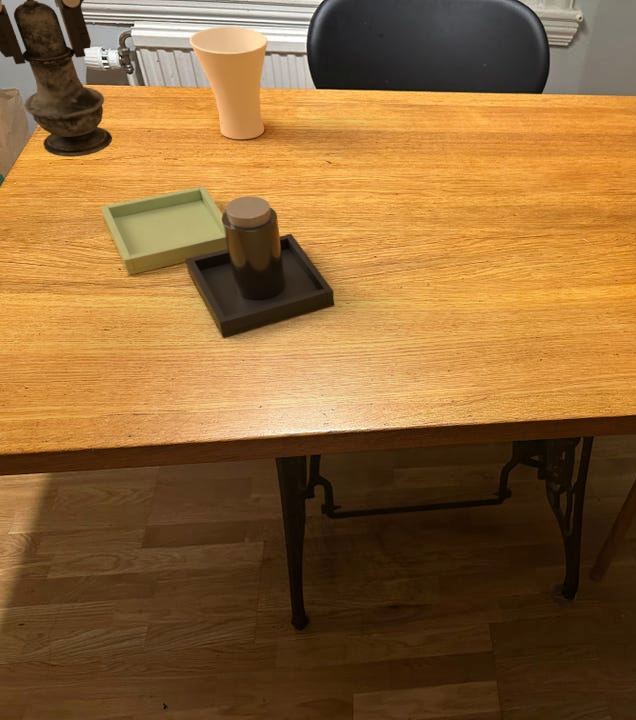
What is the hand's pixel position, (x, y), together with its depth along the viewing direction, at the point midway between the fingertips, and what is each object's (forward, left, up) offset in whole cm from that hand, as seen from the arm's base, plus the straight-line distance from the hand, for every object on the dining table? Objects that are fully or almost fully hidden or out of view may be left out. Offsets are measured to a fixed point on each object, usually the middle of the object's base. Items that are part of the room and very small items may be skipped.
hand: (49, 55), depth 55 cm
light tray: (+8, +15, -28) cm, 33 cm away
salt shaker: (0, 0, -7) cm, 7 cm away
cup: (+25, +39, -28) cm, 54 cm away
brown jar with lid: (+14, 0, -27) cm, 30 cm away
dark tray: (+14, 0, -28) cm, 31 cm away
